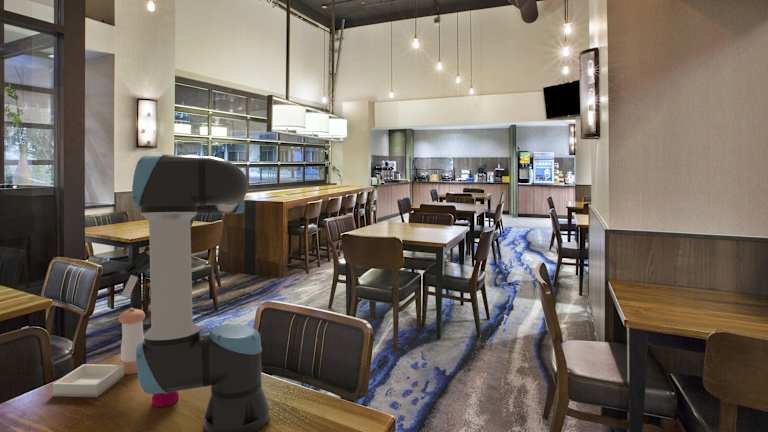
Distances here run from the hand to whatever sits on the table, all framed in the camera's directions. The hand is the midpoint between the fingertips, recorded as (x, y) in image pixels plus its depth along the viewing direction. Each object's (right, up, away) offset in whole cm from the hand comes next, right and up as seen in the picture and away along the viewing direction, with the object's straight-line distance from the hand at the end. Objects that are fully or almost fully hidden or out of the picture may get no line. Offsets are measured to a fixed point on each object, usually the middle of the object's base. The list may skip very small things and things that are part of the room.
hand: (144, 301), depth 134 cm
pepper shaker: (-3, -21, -1) cm, 21 cm away
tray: (-9, -22, -12) cm, 26 cm away
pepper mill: (+16, -23, -19) cm, 34 cm away
